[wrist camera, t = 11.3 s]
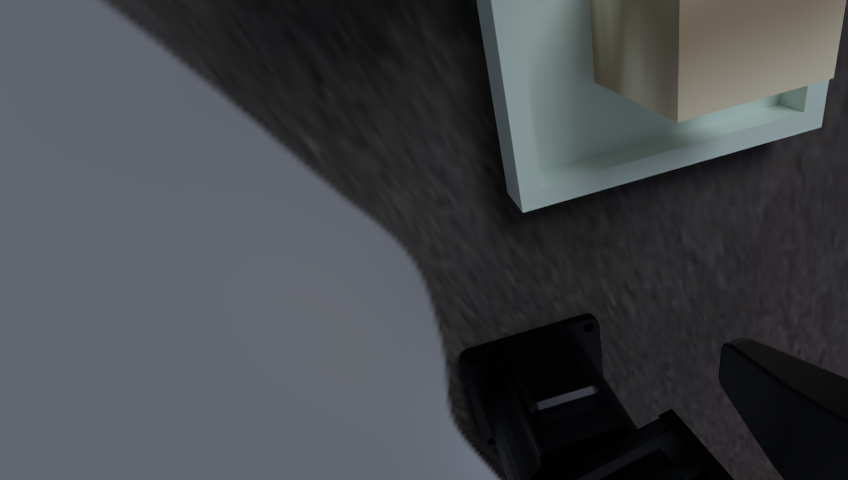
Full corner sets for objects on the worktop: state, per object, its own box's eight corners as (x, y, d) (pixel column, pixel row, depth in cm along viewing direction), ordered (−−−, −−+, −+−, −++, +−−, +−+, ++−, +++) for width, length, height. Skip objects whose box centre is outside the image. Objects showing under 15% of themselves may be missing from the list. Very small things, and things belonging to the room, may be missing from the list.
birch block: (715, 48, 19) (833, 78, 14) (594, 82, 19) (677, 122, 14) (722, -98, 17) (865, -116, 12) (585, -61, 16) (680, -66, 12)
